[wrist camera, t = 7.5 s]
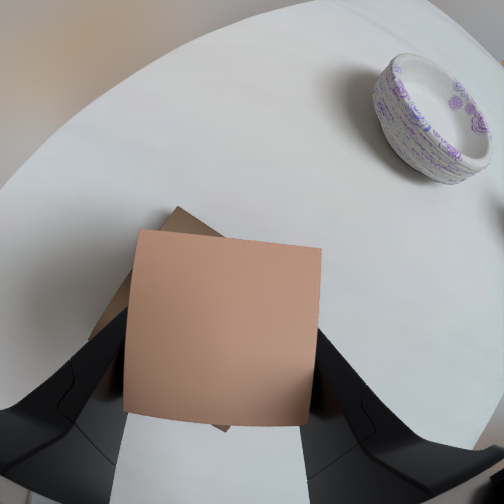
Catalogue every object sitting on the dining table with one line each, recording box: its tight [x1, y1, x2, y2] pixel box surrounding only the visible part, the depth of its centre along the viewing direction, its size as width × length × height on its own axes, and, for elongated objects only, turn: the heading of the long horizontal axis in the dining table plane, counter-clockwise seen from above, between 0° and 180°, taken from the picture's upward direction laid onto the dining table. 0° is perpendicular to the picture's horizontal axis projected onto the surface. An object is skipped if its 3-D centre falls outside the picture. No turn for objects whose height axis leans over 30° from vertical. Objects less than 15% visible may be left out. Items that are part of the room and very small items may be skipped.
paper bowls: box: [372, 53, 493, 185], centre depth 26 cm, size 15×15×8 cm
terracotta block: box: [124, 229, 322, 426], centre depth 12 cm, size 5×5×10 cm
